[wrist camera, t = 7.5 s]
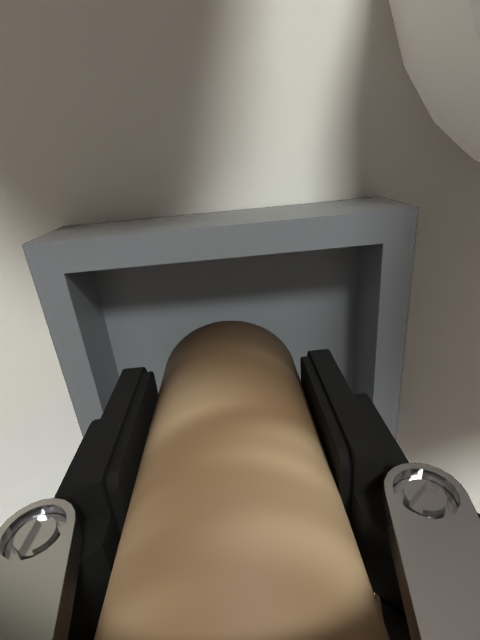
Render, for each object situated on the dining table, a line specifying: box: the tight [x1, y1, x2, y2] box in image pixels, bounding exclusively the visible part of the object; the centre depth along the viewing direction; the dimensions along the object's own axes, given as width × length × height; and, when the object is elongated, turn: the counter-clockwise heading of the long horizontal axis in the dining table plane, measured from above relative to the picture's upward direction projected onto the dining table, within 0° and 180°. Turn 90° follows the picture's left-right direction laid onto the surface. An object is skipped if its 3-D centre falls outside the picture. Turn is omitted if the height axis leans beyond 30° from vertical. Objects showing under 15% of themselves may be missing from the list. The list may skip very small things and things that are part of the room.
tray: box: [22, 197, 418, 440], centre depth 12 cm, size 10×10×2 cm
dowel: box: [94, 321, 390, 640], centre depth 8 cm, size 4×4×8 cm
